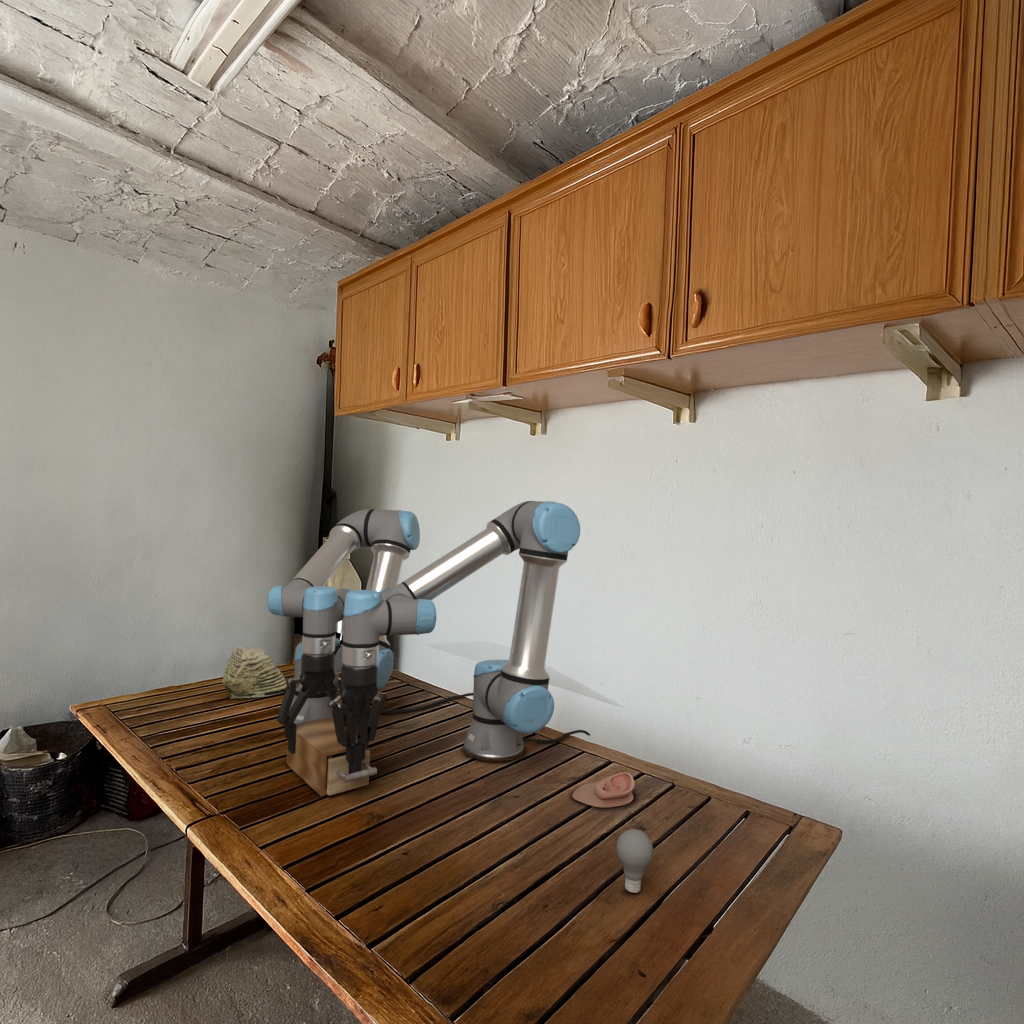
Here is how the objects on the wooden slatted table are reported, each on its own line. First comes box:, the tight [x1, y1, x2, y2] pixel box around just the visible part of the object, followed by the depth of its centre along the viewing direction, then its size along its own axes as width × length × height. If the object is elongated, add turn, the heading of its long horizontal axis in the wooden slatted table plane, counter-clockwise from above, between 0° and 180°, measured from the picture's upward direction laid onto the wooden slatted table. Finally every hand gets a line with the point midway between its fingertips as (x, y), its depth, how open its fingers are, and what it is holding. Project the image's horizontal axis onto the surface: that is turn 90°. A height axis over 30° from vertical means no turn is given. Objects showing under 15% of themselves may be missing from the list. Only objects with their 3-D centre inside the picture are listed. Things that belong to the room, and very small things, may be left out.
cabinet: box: [286, 717, 368, 797], centre depth 145 cm, size 20×10×9 cm, turn 40°
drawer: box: [326, 749, 378, 796], centre depth 140 cm, size 24×9×7 cm, turn 40°
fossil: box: [222, 646, 287, 699], centre depth 198 cm, size 9×18×15 cm, turn 132°
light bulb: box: [615, 828, 654, 894], centre depth 106 cm, size 6×6×10 cm
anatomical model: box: [571, 771, 636, 809], centre depth 139 cm, size 13×4×12 cm
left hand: (314, 746), depth 149 cm, fingers closed on cabinet, 10 cm apart
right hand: (354, 775), depth 133 cm, fingers closed
